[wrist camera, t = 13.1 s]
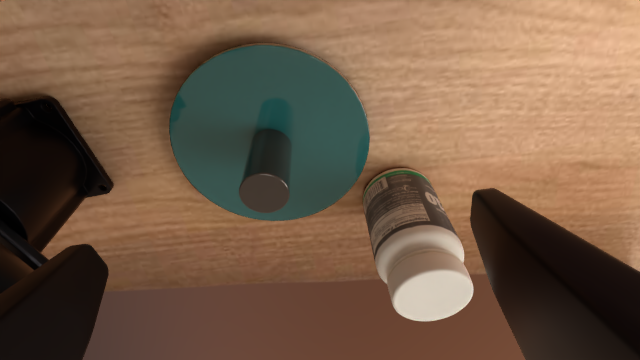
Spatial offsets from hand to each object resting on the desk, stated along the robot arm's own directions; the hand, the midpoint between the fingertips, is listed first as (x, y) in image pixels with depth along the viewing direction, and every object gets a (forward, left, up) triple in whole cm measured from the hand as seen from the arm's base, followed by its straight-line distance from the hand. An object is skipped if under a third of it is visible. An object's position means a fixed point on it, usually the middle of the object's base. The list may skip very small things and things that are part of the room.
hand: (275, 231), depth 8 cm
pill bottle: (-10, -5, -13) cm, 17 cm away
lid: (-4, +2, -12) cm, 13 cm away
